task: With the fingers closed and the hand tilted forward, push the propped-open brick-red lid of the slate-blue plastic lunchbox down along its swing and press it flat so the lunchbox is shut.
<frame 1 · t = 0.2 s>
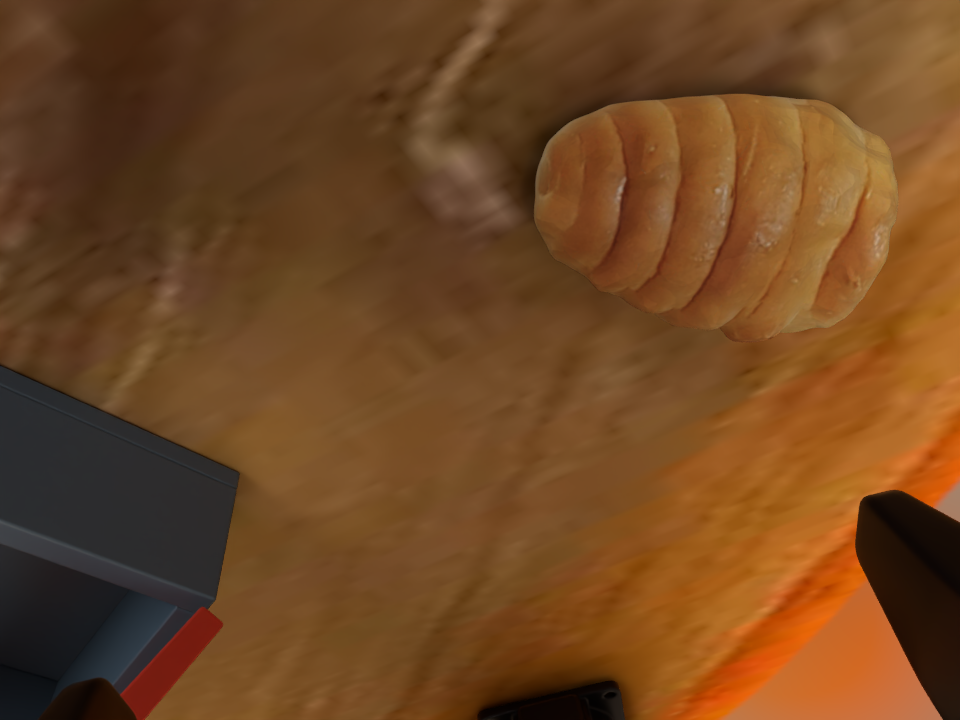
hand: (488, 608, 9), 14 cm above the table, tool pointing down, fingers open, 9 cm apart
pastry: (701, 202, 23), on the table
lunchbox: (8, 532, 26), on the table
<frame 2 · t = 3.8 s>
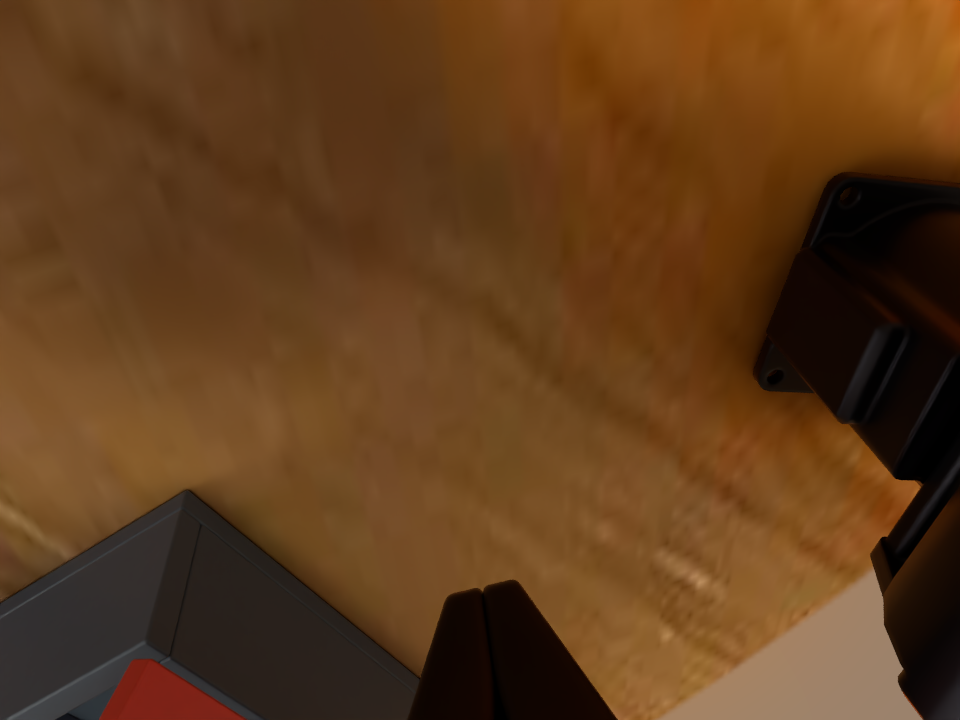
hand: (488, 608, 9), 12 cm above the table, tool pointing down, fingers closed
lunchbox: (206, 662, 27), on the table
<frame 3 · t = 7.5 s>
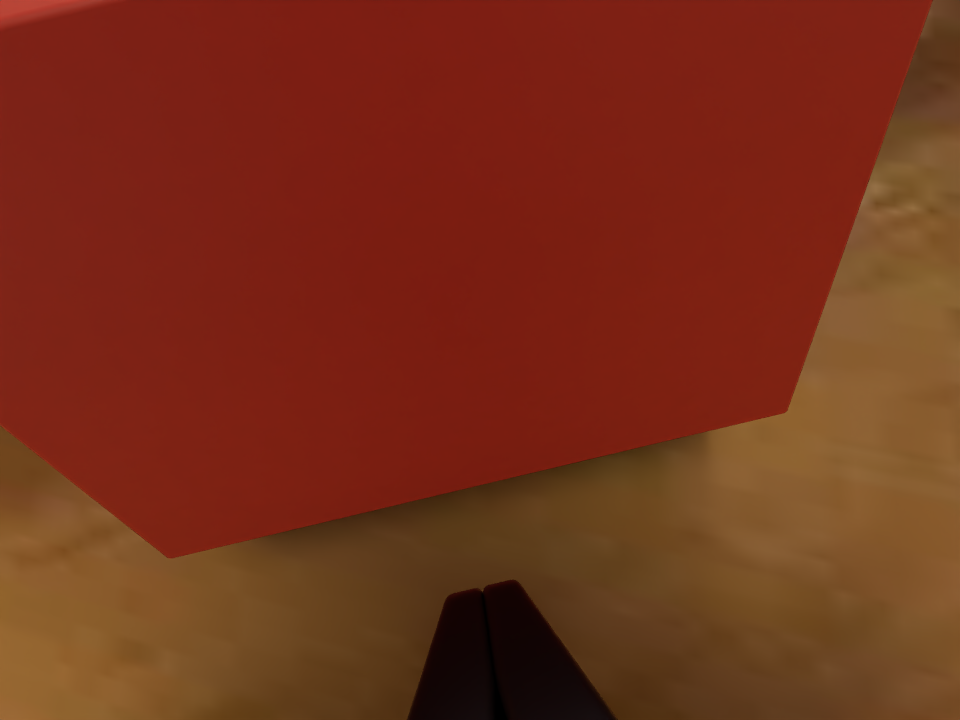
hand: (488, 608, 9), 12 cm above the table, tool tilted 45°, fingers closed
lid: (422, 302, 11), point 11 cm above the table, hinge at 65.0°
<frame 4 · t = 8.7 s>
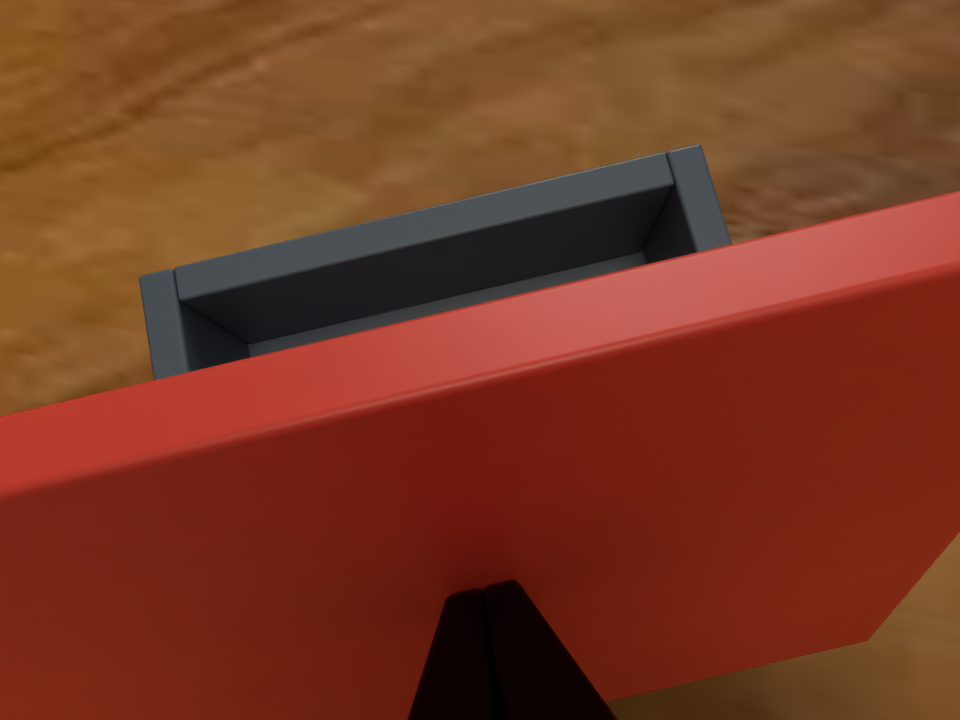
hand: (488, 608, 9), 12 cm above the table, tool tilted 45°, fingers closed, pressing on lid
lid: (492, 597, 10), point 11 cm above the table, hinge at 64.1°, touching gripper
lunchbox: (482, 454, 21), on the table
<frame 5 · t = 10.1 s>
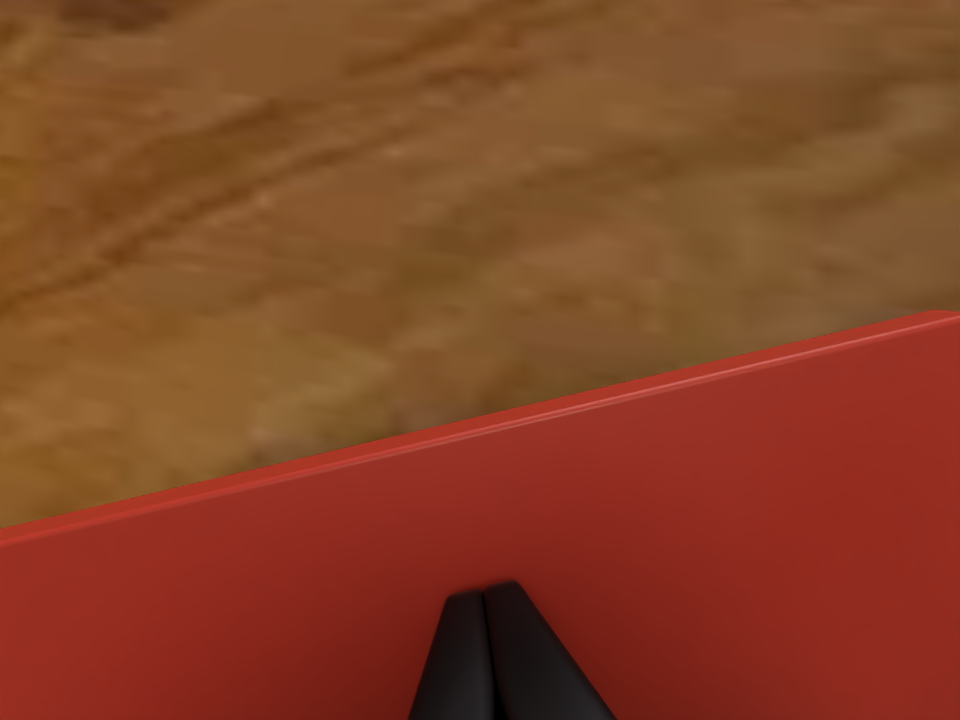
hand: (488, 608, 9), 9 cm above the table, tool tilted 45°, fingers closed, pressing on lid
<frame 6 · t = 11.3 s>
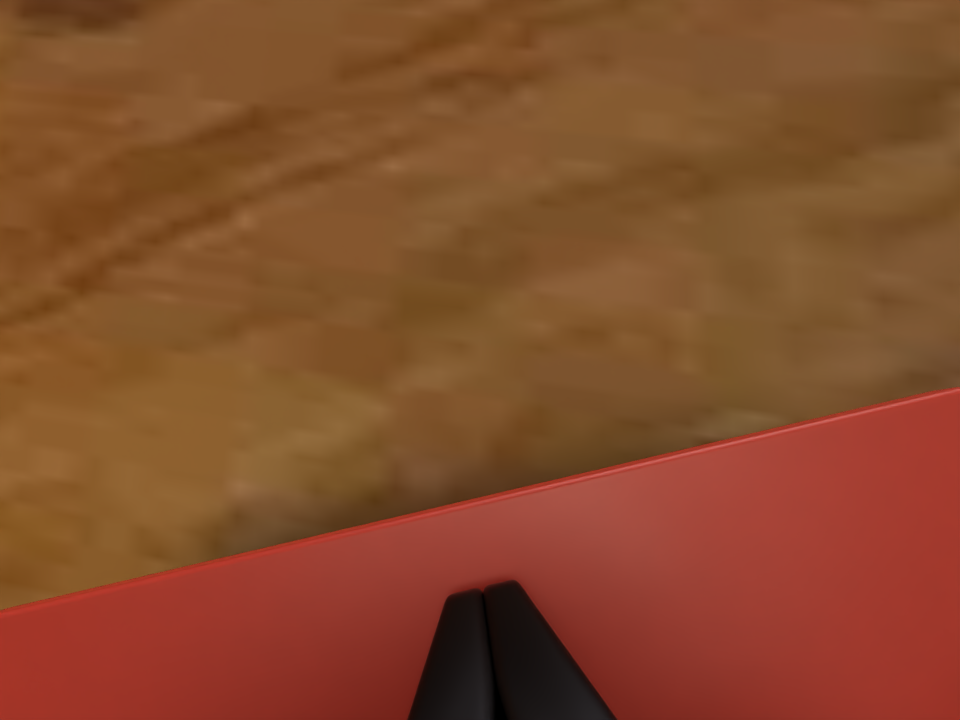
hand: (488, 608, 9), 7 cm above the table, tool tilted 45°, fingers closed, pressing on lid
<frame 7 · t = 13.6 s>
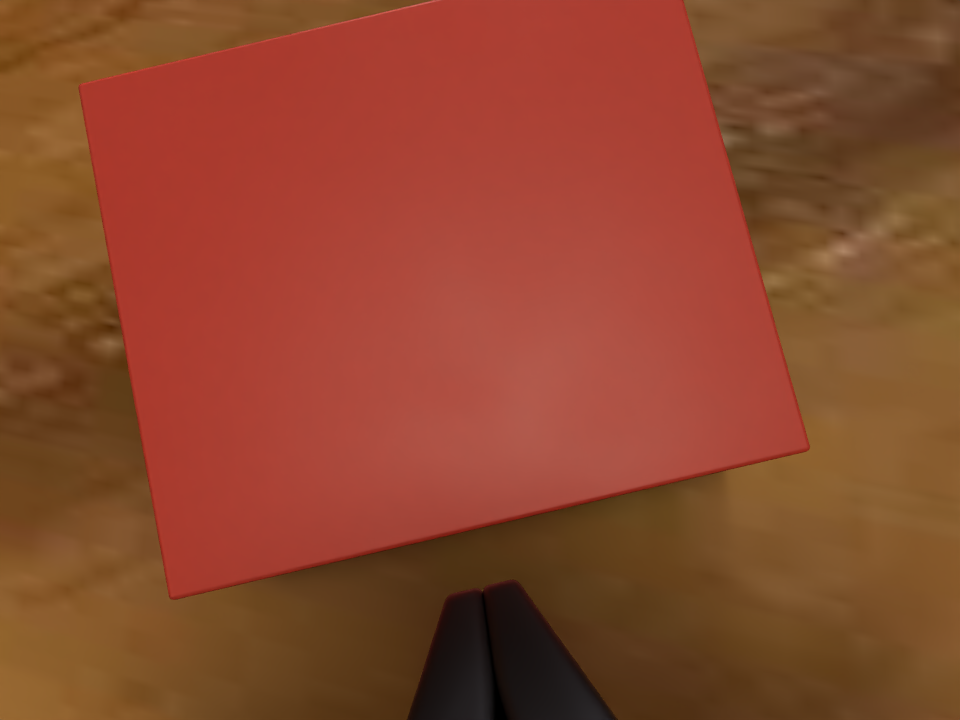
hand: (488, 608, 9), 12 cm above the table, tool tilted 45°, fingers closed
lid: (430, 263, 16), point 6 cm above the table, hinge at 3.5°
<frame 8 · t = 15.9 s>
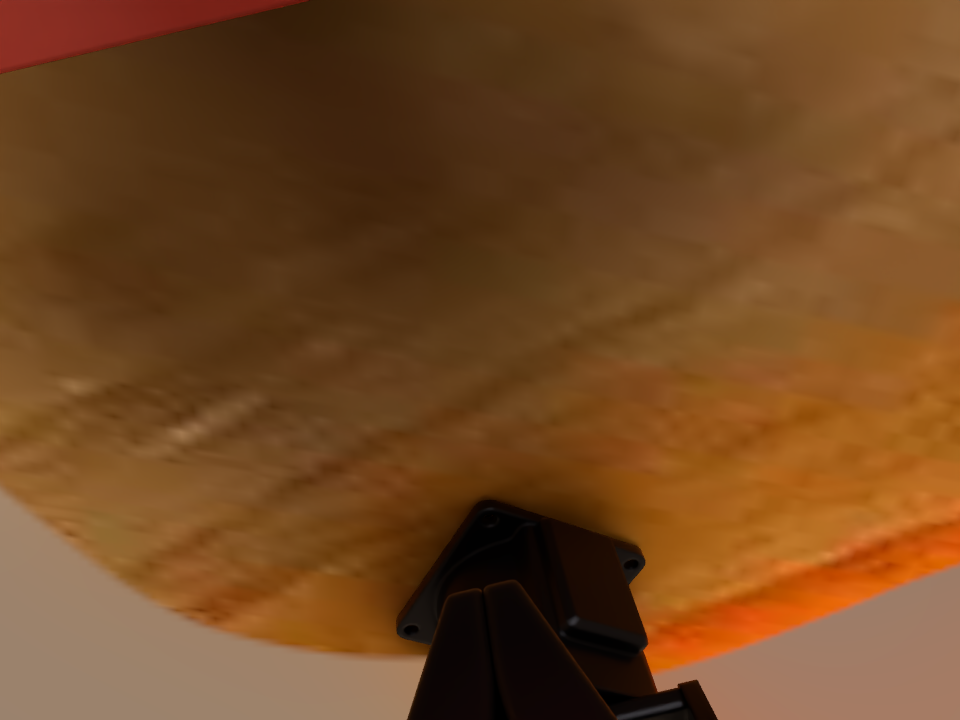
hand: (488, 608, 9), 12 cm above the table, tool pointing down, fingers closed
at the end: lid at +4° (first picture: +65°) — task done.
